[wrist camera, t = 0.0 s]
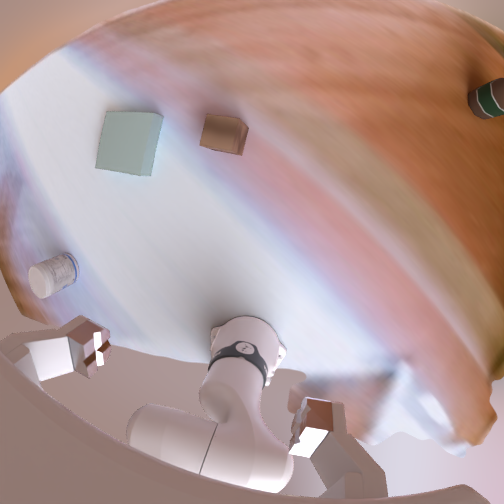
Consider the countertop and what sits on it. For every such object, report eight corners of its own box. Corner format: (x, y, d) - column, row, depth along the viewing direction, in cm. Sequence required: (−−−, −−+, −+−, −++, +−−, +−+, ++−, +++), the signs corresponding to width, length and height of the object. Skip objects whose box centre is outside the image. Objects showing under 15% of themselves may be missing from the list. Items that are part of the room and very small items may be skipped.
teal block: (151, 175, 58) (140, 175, 53) (107, 167, 60) (95, 168, 55) (164, 117, 54) (153, 112, 50) (118, 114, 56) (106, 111, 51)
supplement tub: (69, 286, 71) (37, 303, 57) (57, 259, 70) (23, 272, 56) (85, 276, 69) (50, 294, 55) (72, 247, 67) (36, 260, 53)
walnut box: (242, 155, 54) (231, 150, 45) (214, 150, 54) (199, 145, 46) (248, 128, 52) (239, 118, 43) (221, 123, 52) (207, 113, 44)
